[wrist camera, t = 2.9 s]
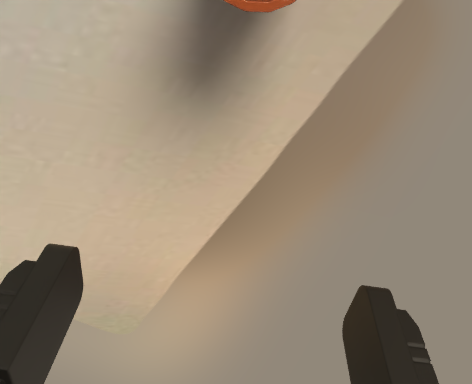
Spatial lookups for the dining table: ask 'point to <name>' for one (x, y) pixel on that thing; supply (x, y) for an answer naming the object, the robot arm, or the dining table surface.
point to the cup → (259, 4)
